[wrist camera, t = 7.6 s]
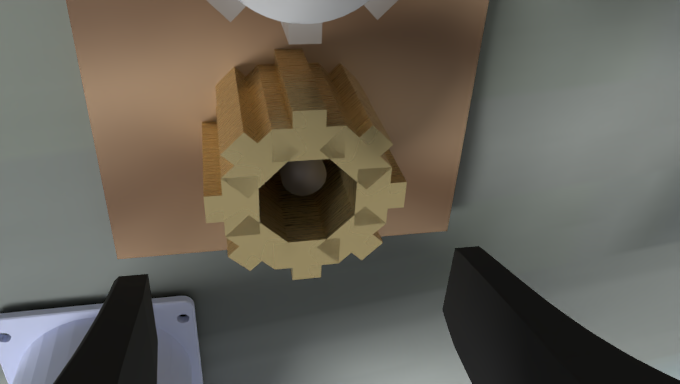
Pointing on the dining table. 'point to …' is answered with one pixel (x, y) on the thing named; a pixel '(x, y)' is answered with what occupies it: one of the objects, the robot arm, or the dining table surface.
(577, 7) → the dining table surface
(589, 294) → the dining table surface
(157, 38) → the gear board
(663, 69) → the dining table surface
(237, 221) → the brass gear
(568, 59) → the dining table surface
